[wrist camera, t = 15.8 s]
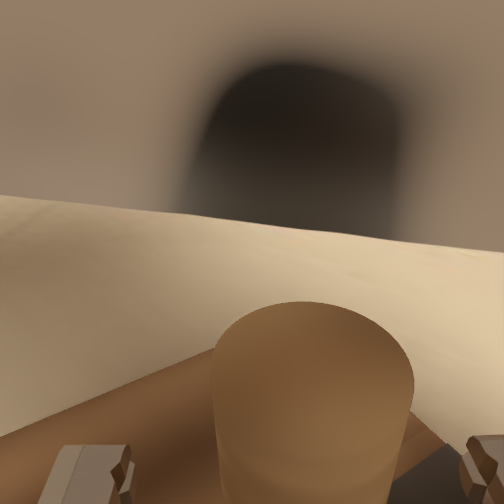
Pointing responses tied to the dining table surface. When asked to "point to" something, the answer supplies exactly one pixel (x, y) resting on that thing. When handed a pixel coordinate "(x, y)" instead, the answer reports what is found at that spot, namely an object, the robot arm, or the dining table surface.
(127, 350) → the dining table surface
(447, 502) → the board
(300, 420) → the tall two-tone tube
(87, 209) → the dining table surface
